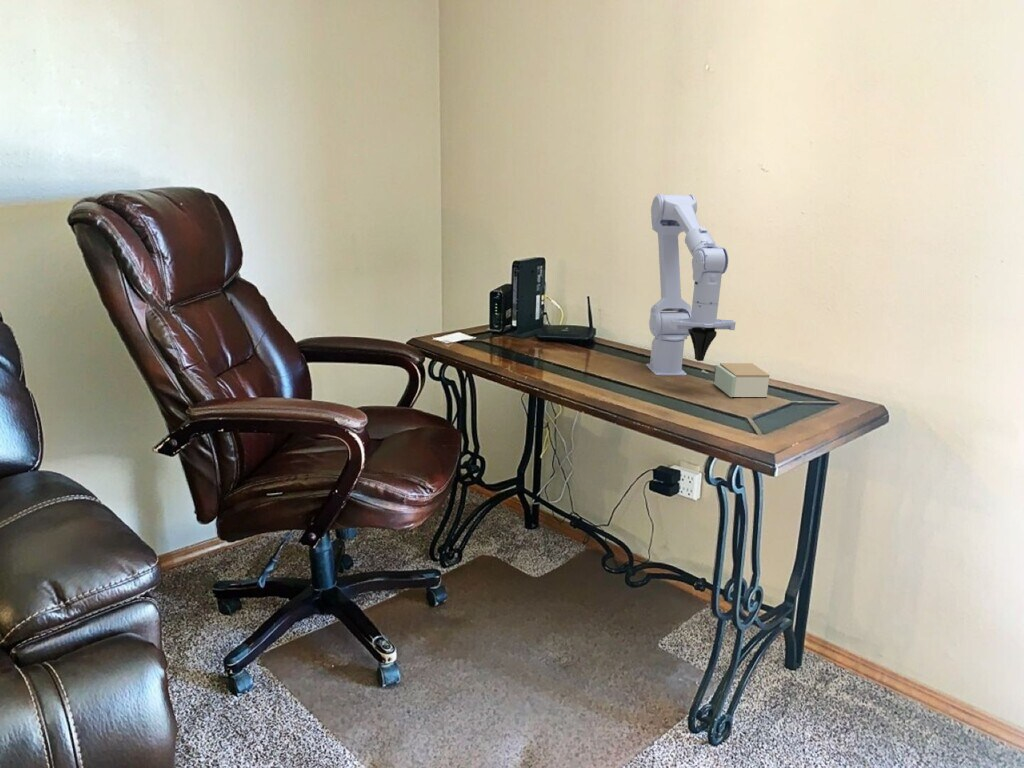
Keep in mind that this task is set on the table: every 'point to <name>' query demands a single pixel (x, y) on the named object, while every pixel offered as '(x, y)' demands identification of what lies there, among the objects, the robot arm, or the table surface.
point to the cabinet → (748, 379)
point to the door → (724, 380)
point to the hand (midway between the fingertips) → (699, 359)
